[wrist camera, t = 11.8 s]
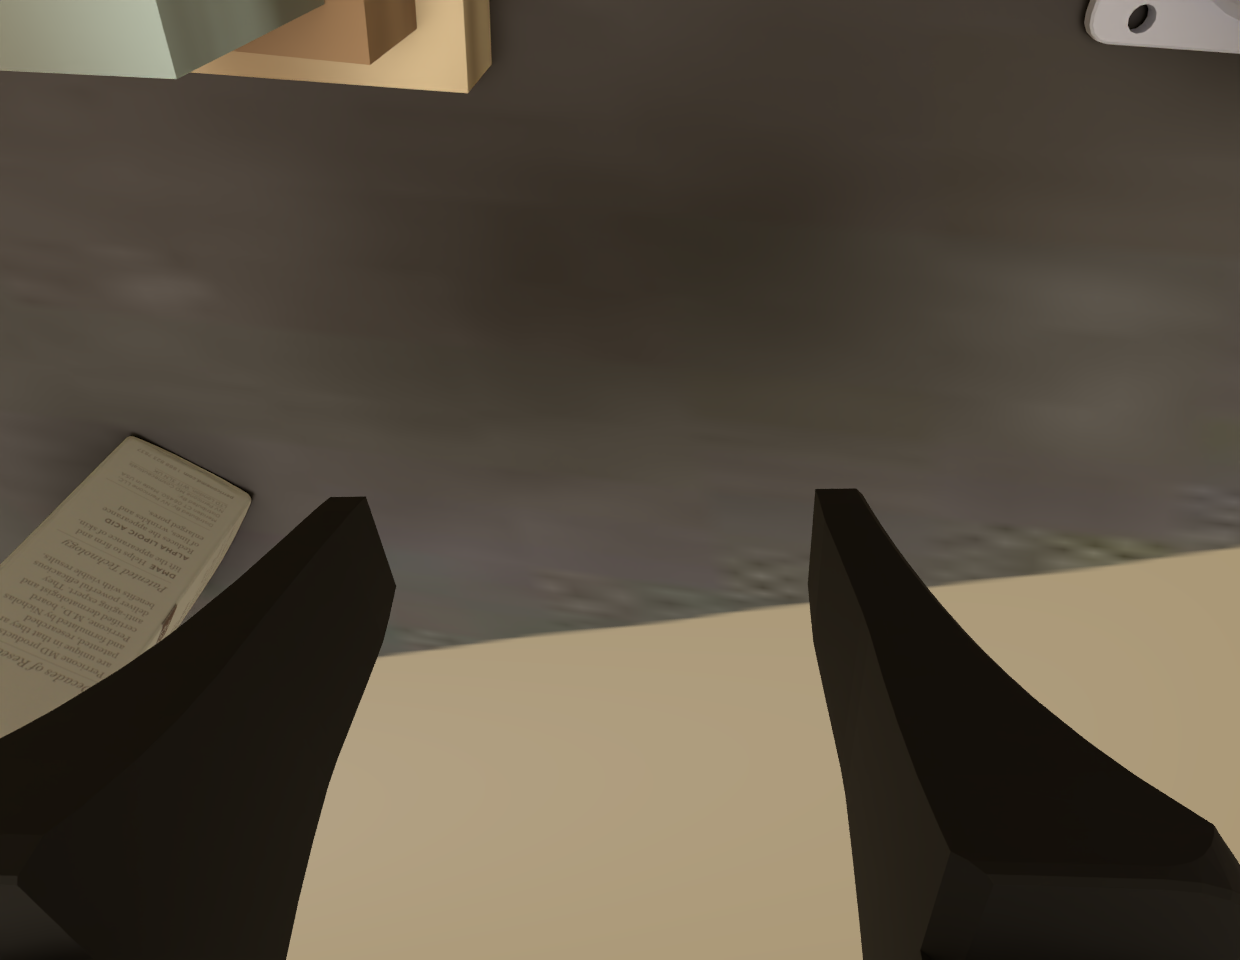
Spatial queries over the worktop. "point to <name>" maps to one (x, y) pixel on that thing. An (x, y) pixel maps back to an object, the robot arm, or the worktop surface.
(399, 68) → the birch slab
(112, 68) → the greenish gray cube
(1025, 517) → the worktop surface
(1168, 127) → the worktop surface
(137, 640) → the skincare box
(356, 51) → the walnut block
